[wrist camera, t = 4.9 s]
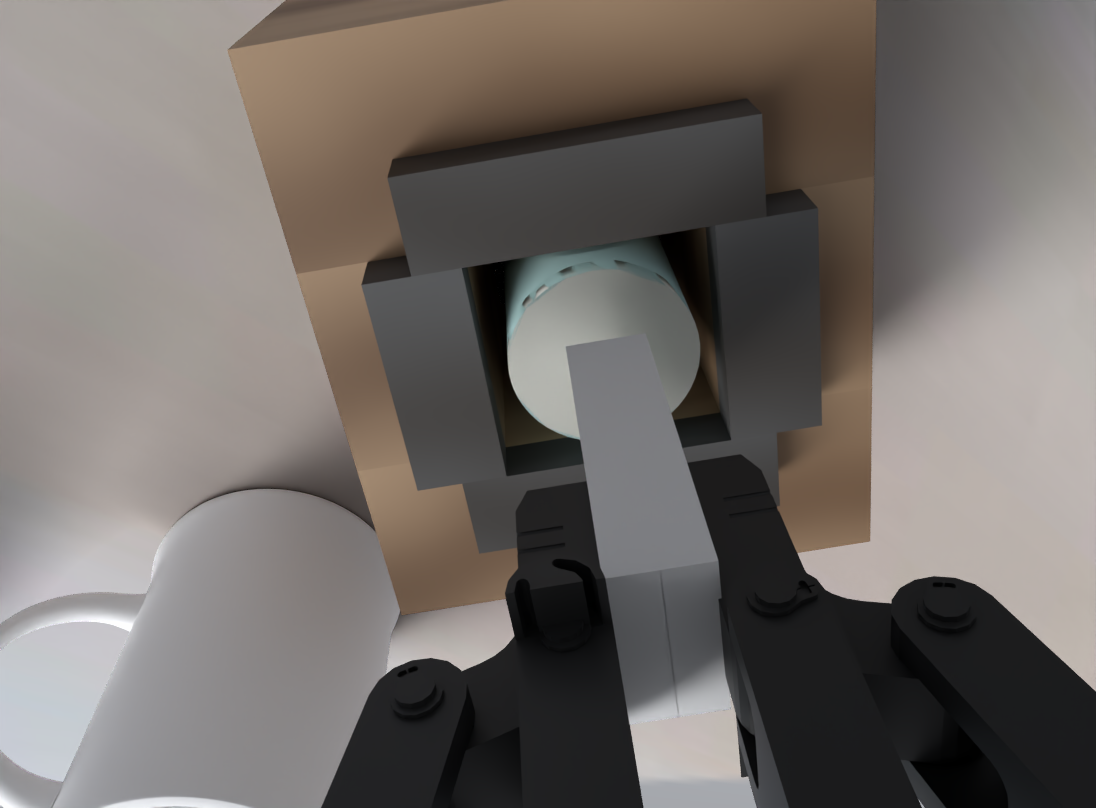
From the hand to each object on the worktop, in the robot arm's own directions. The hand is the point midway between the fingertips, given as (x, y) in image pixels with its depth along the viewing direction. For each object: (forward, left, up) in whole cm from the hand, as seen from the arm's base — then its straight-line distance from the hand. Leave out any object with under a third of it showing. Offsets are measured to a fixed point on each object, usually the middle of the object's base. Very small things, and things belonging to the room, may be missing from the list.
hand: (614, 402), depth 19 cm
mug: (+11, -13, -11) cm, 21 cm away
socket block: (0, 0, -11) cm, 11 cm away
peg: (0, 0, -11) cm, 11 cm away
